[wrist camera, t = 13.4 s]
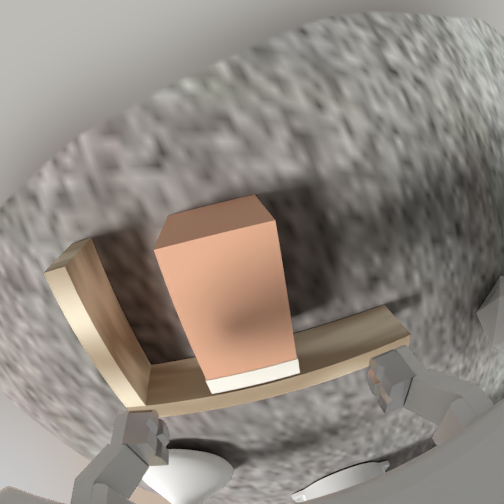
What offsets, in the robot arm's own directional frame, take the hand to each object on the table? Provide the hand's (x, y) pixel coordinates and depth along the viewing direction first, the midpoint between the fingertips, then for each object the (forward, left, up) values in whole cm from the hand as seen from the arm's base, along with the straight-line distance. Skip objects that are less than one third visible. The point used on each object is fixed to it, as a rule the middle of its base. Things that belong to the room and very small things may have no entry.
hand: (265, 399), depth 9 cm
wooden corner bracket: (-1, -1, -9) cm, 9 cm away
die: (-12, -28, -10) cm, 31 cm away
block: (0, 0, -9) cm, 9 cm away
